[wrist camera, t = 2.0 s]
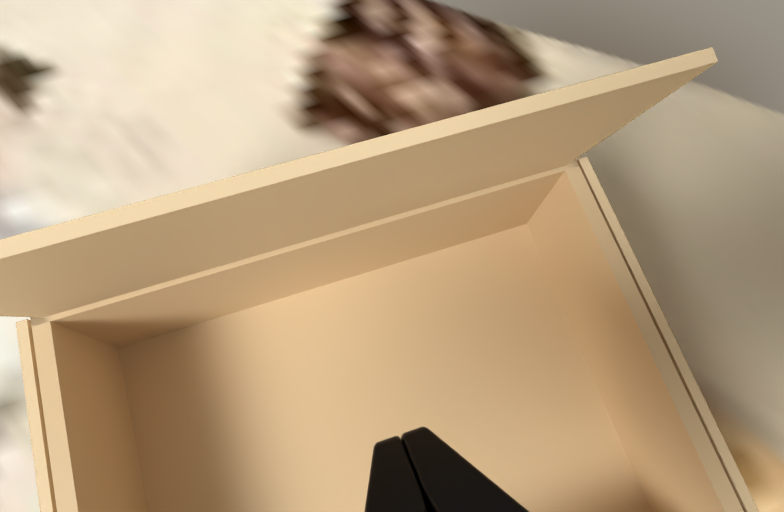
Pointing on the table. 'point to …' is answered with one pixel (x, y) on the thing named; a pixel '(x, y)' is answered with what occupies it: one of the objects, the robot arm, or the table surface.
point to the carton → (385, 370)
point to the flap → (323, 192)
